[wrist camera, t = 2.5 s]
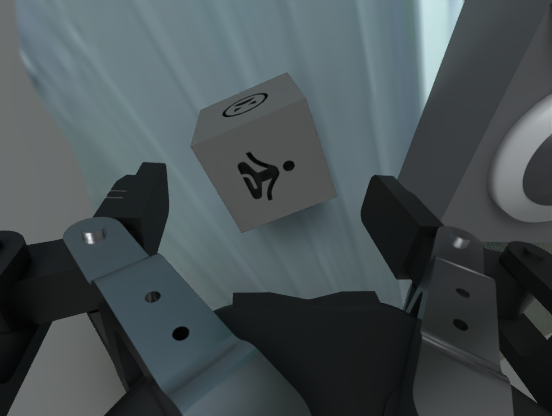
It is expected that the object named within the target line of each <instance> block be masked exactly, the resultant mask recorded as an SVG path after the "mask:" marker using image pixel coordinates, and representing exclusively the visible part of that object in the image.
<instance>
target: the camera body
mask: <svg viewBox="0 0 552 416" xmlns="http://www.w3.org/2000/svg"><path fill="white" fill-rule="evenodd" d="M397 181H398V182H399V183H400V184H401V185H402V186H403V187H404V188H405V189H406V190H408V191H409V192H411V193H413V194H414V195H416V196H417V197H418V199H419V200H420V201H421V202H422V204H424V205H425V206H426V207H427V208H428V210H430V211H431V212H432V213H433V214H434V215H435V216H436V217H437V218H438V219H439V220H440V221H441V222H442V223H443V224H444V225H445V226H452V227H457V228H460V229H463V230H465V231H467V232H469V233H471V234H473V235H474V236H476V237H477V238H478V239H479V240H480V241H481V242H512V241H522V242H526V243H552V0H465V2H464V5H463V7H462V10H461V13H460V15H459V18H458V21H457V23H456V26H455V28H454V31H453V34H452V36H451V39H450V42H449V44H448V47H447V50H446V52H445V55H444V58H443V60H442V63H441V66H440V68H439V71H438V74H437V76H436V79H435V82H434V84H433V87H432V90H431V92H430V95H429V98H428V100H427V103H426V106H425V108H424V111H423V114H422V116H421V119H420V122H419V124H418V127H417V130H416V132H415V135H414V138H413V140H412V143H411V146H410V148H409V151H408V154H407V156H406V159H405V161H404V164H403V167H402V169H401V172H400V175H399V177H398V180H397Z"/></svg>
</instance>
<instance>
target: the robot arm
mask: <svg viewBox="0 0 552 416" xmlns="http://www.w3.org/2000/svg"><path fill="white" fill-rule="evenodd" d="M168 213H169V194H168V181H167V169H166V165H165V163H150V162H143V163H142V165H141V166H140V168H139V170H138V172H137V173H136V175H126V176H124V177H123V178H121V179H119V180H118V181H116V183H115V184H114V186H113V187H112V189H111V191H110V192H109V193H108V195H107V198H105V199H104V201H103V202H102V204H101V206H100V207H99V209H98V210H97V212H96V213H95V215H94V216H93V218H89V219H84V220H82V221H79V222H77V223H75V224H73V225H71V226H70V227H69V228H68V229H67V230H66V231H65V232H64V235H63V239H59V240H55V241H49V242H43V243H37V244H31V245H26V243H25V240H24V237H23V236H22V235H21V234H19V233H17V232H14V231H0V416H7V414H8V412H9V409H10V407H11V405H12V403H13V401H14V399H15V397H16V395H17V393H18V391H19V389H20V387H21V385H22V383H23V381H24V379H25V377H26V375H27V373H28V371H29V369H30V367H31V364H32V362H33V360H34V358H35V356H36V354H37V352H38V350H39V348H40V346H41V344H42V342H43V340H44V338H45V336H46V334H47V332H48V330H49V327H50V325H51V323H52V321H55V320H58V319H62V318H66V317H70V316H74V315H78V314H81V313H85V312H86V313H87V315H88V317H89V319H90V321H91V323H92V324H93V326H94V328H95V330H96V332H97V334H98V335H99V337H100V339H101V341H102V343H103V345H104V346H105V348H106V350H107V352H108V354H109V356H110V358H111V360H112V362H113V364H114V367H115V369H116V372H117V374H118V377H119V379H120V381H121V383H122V385H123V387H124V389H125V391H126V394H125V395H124V396H123V397H122V398H121V399H120V400H119V401H118V402H117V403H116V404H115V405H114V406H113V407H112V408H111V409H110V410H109V411H108V412H107V413H106V414H105V415H104V416H552V336H551V337H550V338H549V339H548V340H547V339H546V338H545V337H544V336H543V335H542V334H541V332H540V331H539V330H538V329H537V328H536V327H535V326H534V325H533V323H532V322H531V321H530V320H529V319H528V318H527V317H526V315H525V314H524V313H523V312H524V311H525V310H526V308H527V307H528V306H529V305H530V304H531V302H532V301H533V300H534V299H535V298H536V299H537V300H538V301H539V302H540V303H541V304H542V305H543V306H544V307H545V308H546V309H547V310H548V311H549V312H550V313H551V315H552V255H551V254H550V253H548V252H547V251H545V250H543V249H541V248H539V247H537V246H535V245H532V244H530V243H526V242H522V241H512V242H510V243H509V244H508V245H507V247H506V248H505V250H504V251H503V252H498V251H494V250H489V249H485V248H484V247H483V244H482V242H481V241H480V240H479V239H478V238H477V237H476V236H474V235H473V234H471V233H469V232H467V231H465V230H463V229H460V228H457V227H452V226H445V225H444V224H443V223H442V222H441V221H440V220H439V219H438V218H437V217H436V216H435V215H434V214H433V213H432V212H431V211H430V210H428V208H427V207H426V206H425V205H424V204H422V202H421V201H420V200H419V199H418V197H417V196H416V195H414V194H413V193H411V192H409V191H408V190H406V189H405V188H404V187H403V186H402V185H401V184H400V183H399V182H398V181H397V179H396V178H395V177H393V176H382V175H374V176H373V177H372V178H371V180H370V182H369V185H368V189H367V192H366V195H365V198H364V201H363V205H362V208H361V220H362V223H363V225H364V226H365V228H366V230H367V231H368V233H369V235H370V236H371V238H372V240H373V241H374V243H375V245H376V246H377V248H378V250H379V251H380V253H381V255H382V256H383V258H384V260H385V261H386V263H387V264H388V266H389V268H390V269H391V271H392V273H393V274H394V276H395V278H396V279H411V280H412V283H411V285H410V287H409V289H408V293H407V296H406V300H405V303H404V307H403V310H401V309H399V308H396V307H394V306H391V305H388V304H384V303H380V301H379V299H378V297H377V295H376V293H375V291H353V292H338V293H334V294H330V295H326V296H322V297H318V298H314V299H302V298H296V297H291V296H286V295H281V294H276V293H270V292H264V293H233V304H232V305H228V306H225V307H222V308H219V309H217V310H215V311H212V310H211V309H210V308H209V306H208V305H207V304H206V303H205V302H204V301H203V300H202V299H201V298H200V297H199V295H198V294H197V293H196V292H195V291H194V290H193V289H192V288H191V287H190V285H189V284H188V283H187V282H186V281H185V280H184V279H183V278H182V277H181V275H180V274H179V273H178V272H177V271H176V270H175V269H174V268H173V267H172V265H171V264H170V263H169V262H168V261H167V260H166V259H165V258H164V257H163V256H162V255H161V254H159V253H157V251H158V248H159V245H160V241H161V238H162V235H163V231H164V228H165V225H166V221H167V218H168ZM499 350H500V351H501V353H502V354H503V355H504V357H505V358H506V360H507V361H508V362H509V364H510V365H511V366H512V368H513V369H514V371H515V372H516V373H517V375H518V376H519V378H520V379H521V380H522V382H523V383H524V384H525V386H526V387H527V389H528V390H529V392H530V393H531V394H532V396H533V397H534V399H535V400H536V401H537V403H536V402H535V401H533V400H532V399H531V398H529V397H528V396H526V395H525V394H523V393H522V392H520V391H519V390H518V389H516V388H515V387H514V386H512V385H511V384H510V381H509V379H508V378H507V376H505V375H503V373H502V372H501V367H500V352H499Z"/></svg>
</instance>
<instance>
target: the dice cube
mask: <svg viewBox="0 0 552 416" xmlns="http://www.w3.org/2000/svg"><path fill="white" fill-rule="evenodd" d="M190 147H191V148H192V150H193V152H194V153H195V155H196V157H197V158H198V160H199V162H200V163H201V165H202V167H203V169H204V170H205V172H206V174H207V175H208V177H209V179H210V180H211V182H212V184H213V185H214V187H215V189H216V190H217V192H218V194H219V195H220V197H221V199H222V201H223V202H224V204H225V206H226V207H227V209H228V211H229V212H230V214H231V216H232V217H233V219H234V221H235V222H236V224H237V226H238V227H239V229H240V231H241V233H243V232H245V231H248V230H251V229H253V228H256V227H258V226H261V225H264V224H266V223H269V222H272V221H274V220H277V219H279V218H282V217H285V216H287V215H290V214H292V213H295V212H298V211H300V210H303V209H306V208H308V207H311V206H313V205H316V204H319V203H321V202H324V201H327V200H329V199H332V198H334V197H337V194H336V191H335V188H334V185H333V182H332V179H331V176H330V173H329V169H328V166H327V163H326V160H325V157H324V154H323V151H322V148H321V144H320V141H319V138H318V135H317V132H316V129H315V126H314V123H313V119H312V116H311V113H310V110H309V107H308V104H307V101H306V98H305V96H304V95H303V93H302V92H301V91H300V89H299V88H298V87H297V85H296V84H295V83H294V81H293V80H292V79H291V77H290V76H289V74H288V73H284V74H282V75H280V76H277V77H275V78H273V79H271V80H268V81H266V82H264V83H261V84H259V85H257V86H255V87H252V88H250V89H248V90H245V91H243V92H241V93H239V94H236V95H234V96H232V97H229V98H227V99H225V100H223V101H220V102H218V103H216V104H213V105H211V106H209V107H207V108H204V109H202V110H200V114H199V117H198V121H197V124H196V128H195V132H194V135H193V139H192V142H191V146H190Z"/></svg>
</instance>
